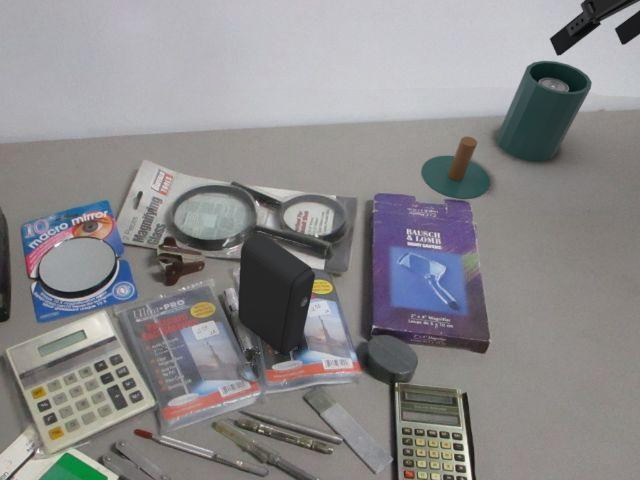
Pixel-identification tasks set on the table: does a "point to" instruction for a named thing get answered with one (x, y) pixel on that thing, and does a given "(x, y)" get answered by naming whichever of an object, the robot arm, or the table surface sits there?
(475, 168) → the tin lid
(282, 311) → the black rectangular block
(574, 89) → the tin
